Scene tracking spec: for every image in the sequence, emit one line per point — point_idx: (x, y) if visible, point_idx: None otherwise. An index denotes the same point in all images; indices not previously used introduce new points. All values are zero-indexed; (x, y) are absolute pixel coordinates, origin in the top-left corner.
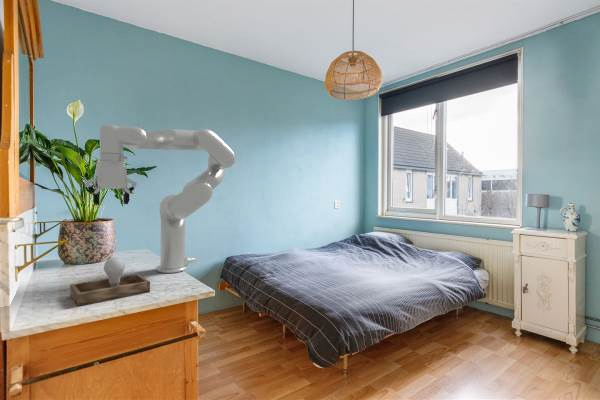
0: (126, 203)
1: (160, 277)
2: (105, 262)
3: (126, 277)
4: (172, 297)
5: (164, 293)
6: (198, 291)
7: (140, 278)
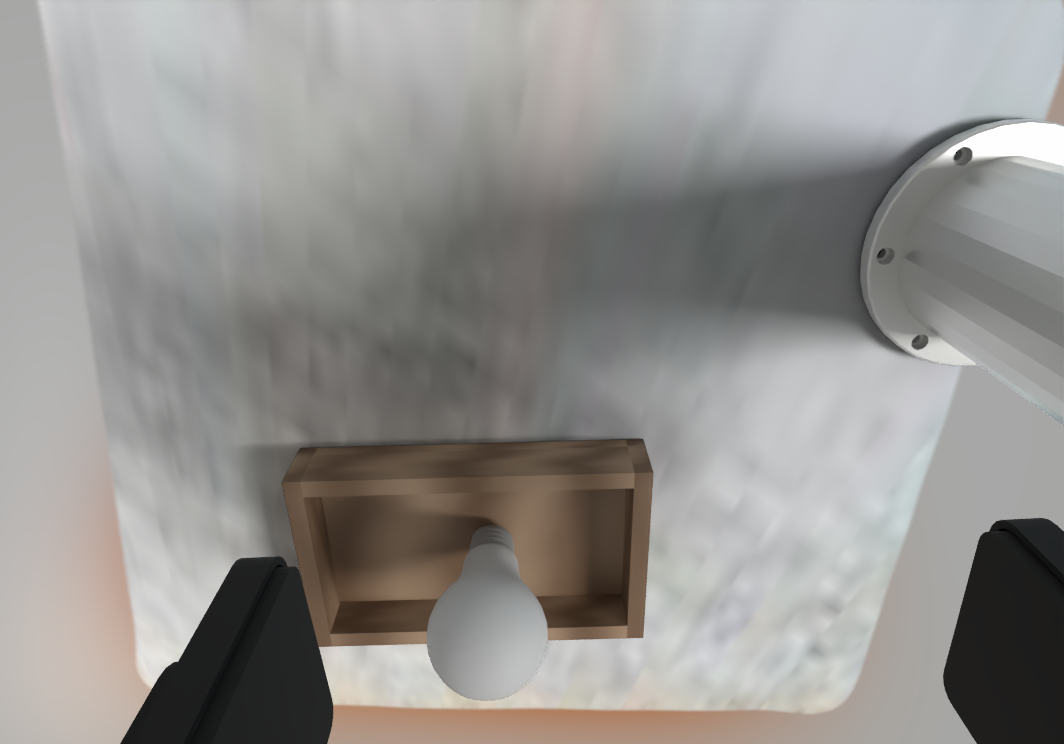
0: (958, 694)
1: (799, 398)
2: (433, 653)
3: (576, 485)
4: (679, 698)
5: (677, 644)
6: (803, 693)
7: (630, 553)
